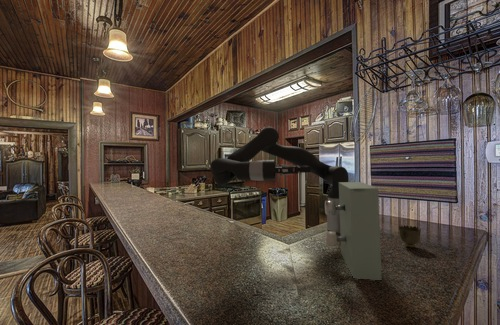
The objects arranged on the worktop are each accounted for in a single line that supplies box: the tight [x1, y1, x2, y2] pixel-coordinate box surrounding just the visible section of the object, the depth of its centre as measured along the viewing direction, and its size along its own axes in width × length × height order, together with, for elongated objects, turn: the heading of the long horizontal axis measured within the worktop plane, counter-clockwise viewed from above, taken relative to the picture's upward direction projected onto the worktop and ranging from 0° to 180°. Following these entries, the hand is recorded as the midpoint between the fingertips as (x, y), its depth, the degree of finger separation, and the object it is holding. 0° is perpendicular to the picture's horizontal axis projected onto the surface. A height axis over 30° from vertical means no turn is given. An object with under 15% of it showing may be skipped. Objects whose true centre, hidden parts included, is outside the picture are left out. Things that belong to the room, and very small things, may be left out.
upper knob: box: [324, 200, 345, 216], centre depth 82 cm, size 7×5×5 cm
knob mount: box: [339, 181, 382, 281], centre depth 80 cm, size 8×20×28 cm, turn 168°
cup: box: [398, 225, 422, 249], centre depth 95 cm, size 8×7×8 cm
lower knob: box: [325, 230, 346, 247], centre depth 82 cm, size 7×5×5 cm
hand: (310, 169), depth 83 cm, fingers closed
